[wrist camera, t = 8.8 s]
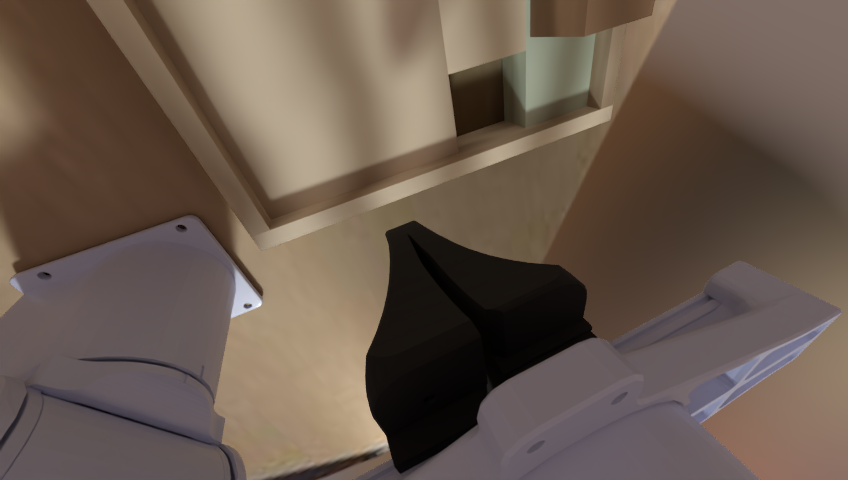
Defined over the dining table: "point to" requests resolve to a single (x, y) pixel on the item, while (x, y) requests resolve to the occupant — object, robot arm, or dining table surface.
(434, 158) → the box
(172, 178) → the dining table surface
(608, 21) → the walnut block
